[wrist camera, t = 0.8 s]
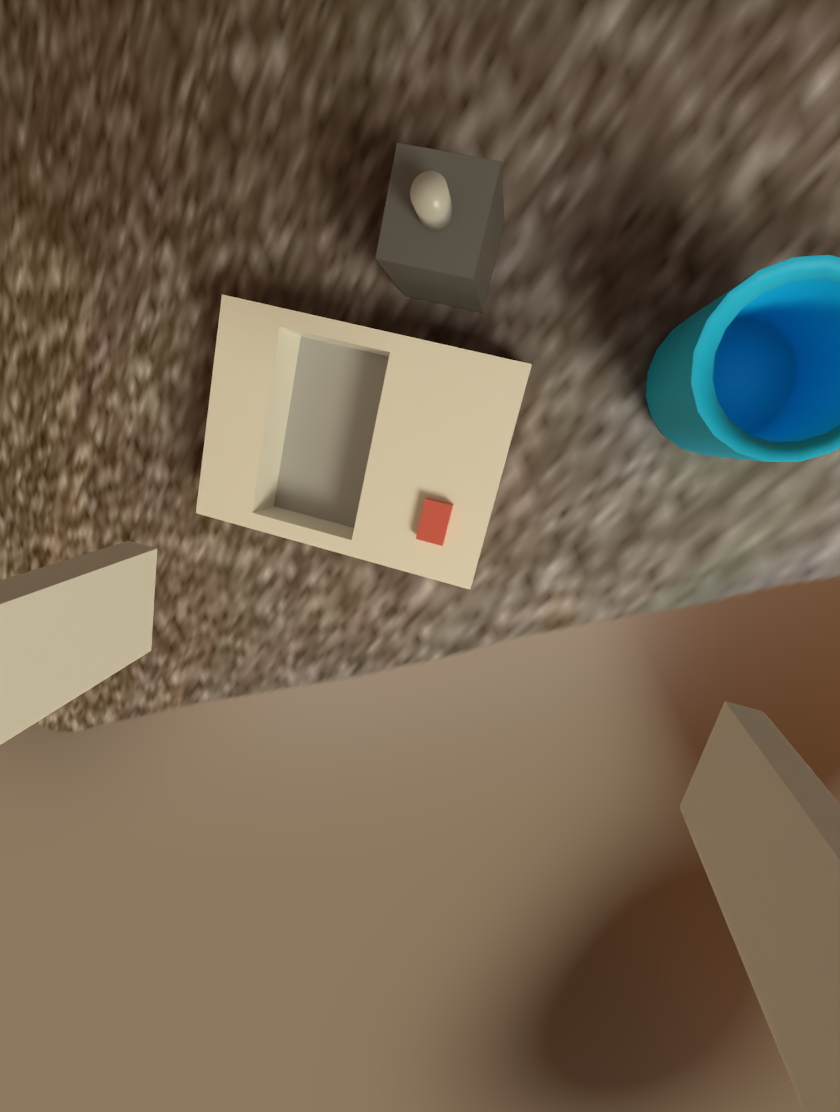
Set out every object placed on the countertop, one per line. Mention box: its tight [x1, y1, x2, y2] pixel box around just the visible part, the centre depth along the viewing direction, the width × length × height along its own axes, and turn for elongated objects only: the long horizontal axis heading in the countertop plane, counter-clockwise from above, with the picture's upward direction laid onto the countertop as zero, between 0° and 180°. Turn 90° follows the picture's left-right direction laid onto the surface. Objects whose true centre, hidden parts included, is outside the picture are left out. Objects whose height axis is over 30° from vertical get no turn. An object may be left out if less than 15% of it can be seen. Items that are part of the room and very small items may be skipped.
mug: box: [646, 255, 840, 462], centre depth 25 cm, size 12×8×8 cm
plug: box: [375, 143, 504, 313], centre depth 26 cm, size 5×5×9 cm
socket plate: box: [196, 295, 532, 589], centre depth 32 cm, size 13×18×4 cm
